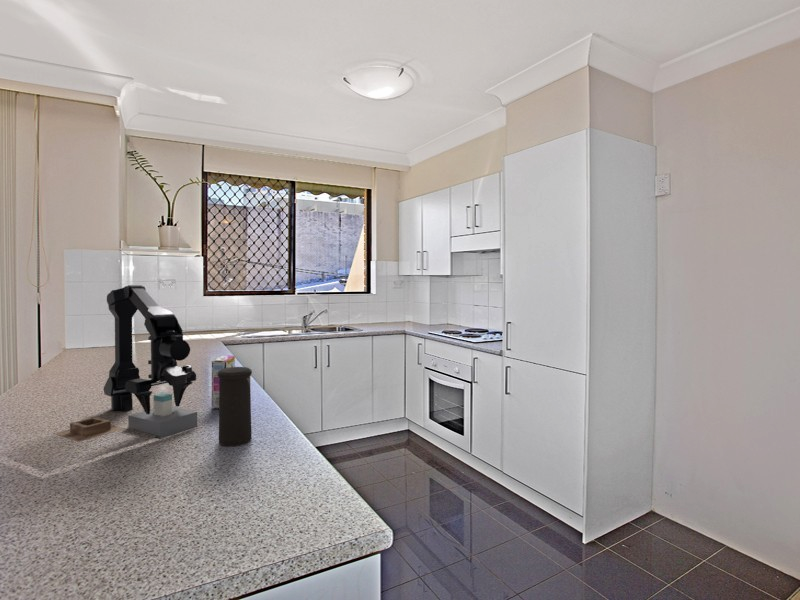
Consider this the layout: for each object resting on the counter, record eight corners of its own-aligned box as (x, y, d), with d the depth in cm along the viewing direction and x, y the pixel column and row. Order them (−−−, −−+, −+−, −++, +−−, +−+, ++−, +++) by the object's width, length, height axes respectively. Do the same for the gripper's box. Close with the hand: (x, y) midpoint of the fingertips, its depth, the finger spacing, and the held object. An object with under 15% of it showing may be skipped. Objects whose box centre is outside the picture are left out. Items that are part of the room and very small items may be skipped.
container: (259, 437, 128) (258, 365, 127) (237, 449, 119) (237, 372, 118) (233, 434, 130) (232, 363, 129) (210, 444, 122) (209, 369, 121)
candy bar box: (226, 409, 154) (226, 360, 153) (211, 409, 154) (210, 360, 153) (235, 400, 165) (235, 355, 165) (221, 400, 165) (220, 355, 164)
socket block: (128, 430, 132) (128, 415, 132) (166, 419, 143) (166, 405, 143) (159, 439, 126) (159, 422, 126) (197, 426, 136) (197, 411, 136)
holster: (55, 437, 127) (54, 424, 127) (100, 425, 137) (100, 413, 137) (79, 445, 121) (78, 431, 121) (125, 431, 132) (124, 419, 131)
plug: (154, 429, 134) (153, 395, 133) (163, 426, 137) (162, 392, 136) (163, 431, 132) (162, 396, 132) (172, 428, 135) (172, 394, 134)
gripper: (148, 364, 121) (149, 423, 122) (208, 354, 138) (209, 406, 139) (123, 360, 127) (124, 416, 127) (183, 351, 143) (184, 401, 144)
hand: (163, 410), depth 134 cm, fingers open, 9 cm apart
